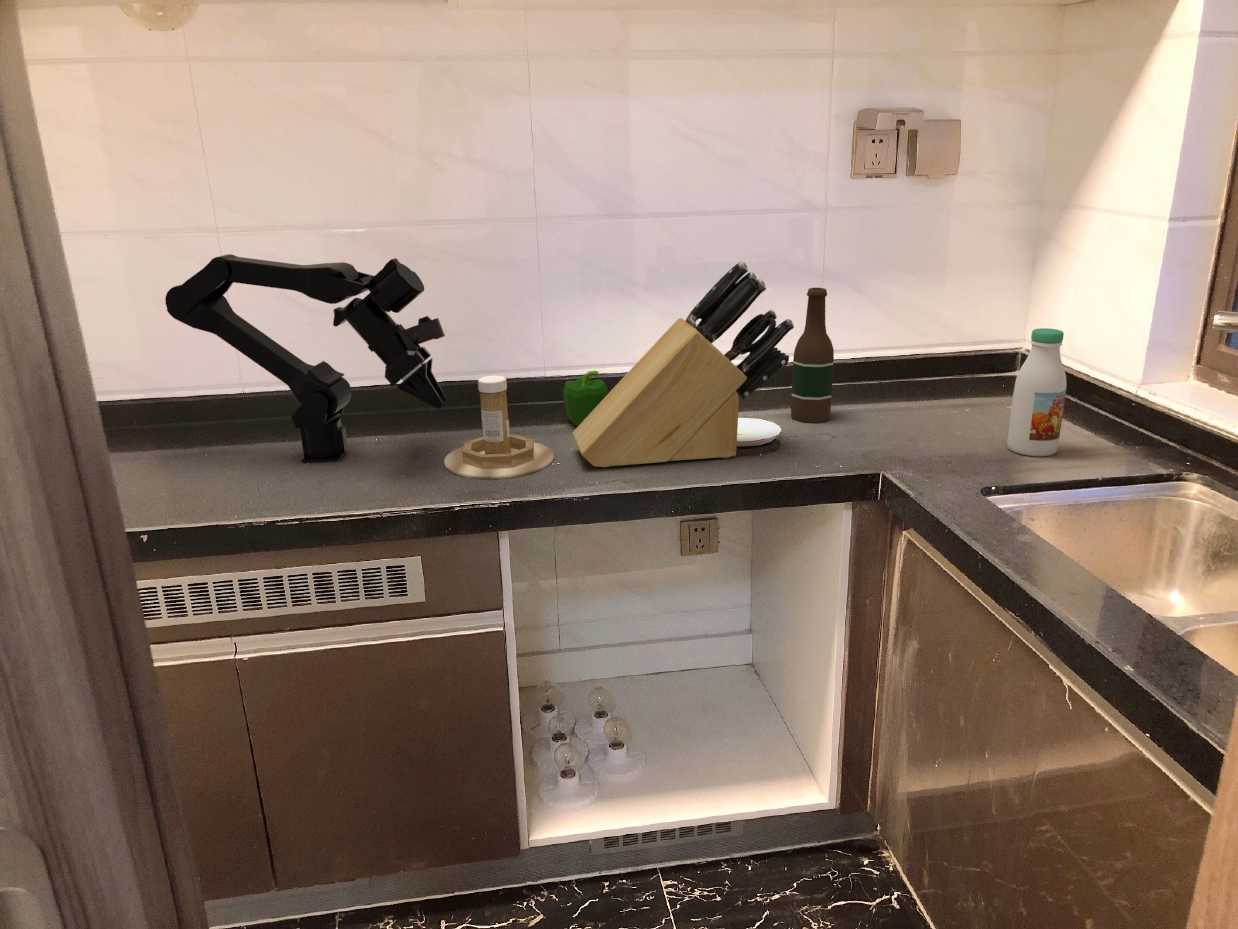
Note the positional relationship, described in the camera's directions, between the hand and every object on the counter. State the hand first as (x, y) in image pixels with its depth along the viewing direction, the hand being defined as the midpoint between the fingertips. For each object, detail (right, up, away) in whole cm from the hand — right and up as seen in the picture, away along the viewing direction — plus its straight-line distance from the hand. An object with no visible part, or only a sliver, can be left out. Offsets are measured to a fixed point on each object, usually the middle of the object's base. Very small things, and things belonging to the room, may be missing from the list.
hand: (443, 404), depth 151 cm
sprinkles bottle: (+9, -9, +1) cm, 13 cm away
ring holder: (+9, -9, +1) cm, 13 cm away
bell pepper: (+23, -2, +20) cm, 31 cm away
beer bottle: (+65, -1, +21) cm, 68 cm away
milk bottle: (+97, -8, +1) cm, 98 cm away
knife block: (+39, -8, +3) cm, 40 cm away
